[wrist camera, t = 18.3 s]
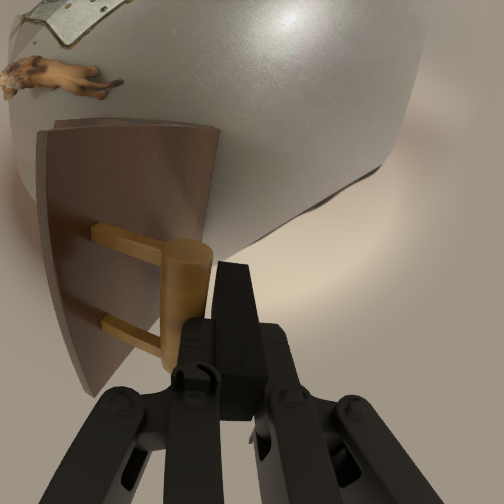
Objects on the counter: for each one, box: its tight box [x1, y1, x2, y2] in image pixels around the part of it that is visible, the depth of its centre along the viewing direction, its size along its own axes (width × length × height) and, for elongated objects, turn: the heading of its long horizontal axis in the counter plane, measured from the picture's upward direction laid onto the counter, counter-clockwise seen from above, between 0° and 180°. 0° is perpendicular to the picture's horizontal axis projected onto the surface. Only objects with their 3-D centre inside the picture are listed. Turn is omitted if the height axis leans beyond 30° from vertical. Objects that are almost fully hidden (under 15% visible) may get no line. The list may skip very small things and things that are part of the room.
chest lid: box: [36, 124, 220, 398], centre depth 16 cm, size 16×14×6 cm
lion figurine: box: [0, 56, 123, 101], centre depth 18 cm, size 15×5×9 cm, turn 74°
